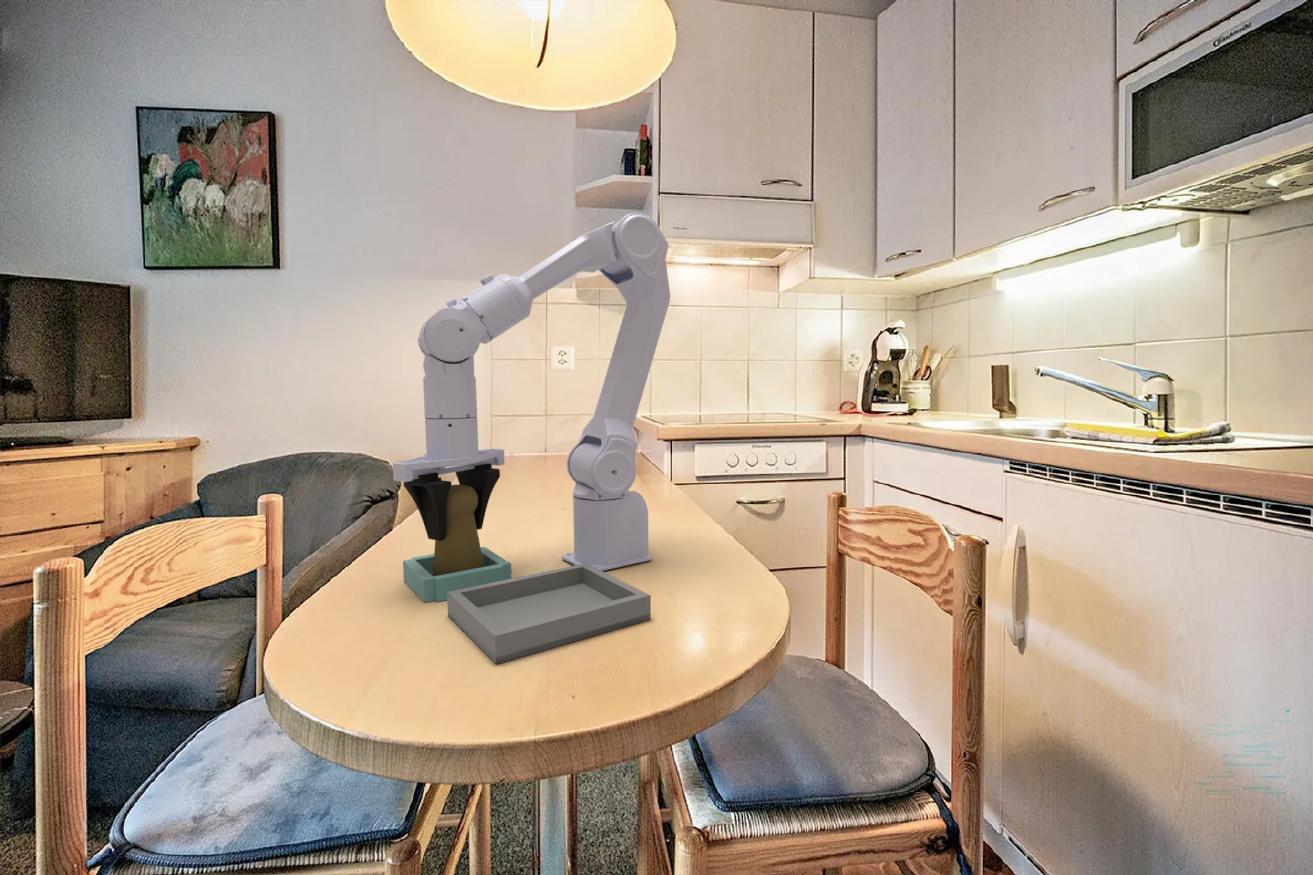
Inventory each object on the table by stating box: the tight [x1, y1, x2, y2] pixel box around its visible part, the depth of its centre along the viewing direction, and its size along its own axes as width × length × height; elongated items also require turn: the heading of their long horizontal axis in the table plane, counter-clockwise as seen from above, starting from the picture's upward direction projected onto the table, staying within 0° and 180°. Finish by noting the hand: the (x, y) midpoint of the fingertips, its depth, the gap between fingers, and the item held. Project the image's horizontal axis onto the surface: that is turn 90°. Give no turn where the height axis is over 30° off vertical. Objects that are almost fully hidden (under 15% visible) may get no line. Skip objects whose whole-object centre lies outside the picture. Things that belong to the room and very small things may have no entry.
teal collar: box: [402, 546, 512, 604], centre depth 71 cm, size 10×10×2 cm
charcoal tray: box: [446, 563, 652, 665], centre depth 60 cm, size 16×13×2 cm
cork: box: [433, 484, 484, 577], centre depth 70 cm, size 6×6×11 cm
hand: (456, 533), depth 70 cm, fingers closed on cork, 5 cm apart
